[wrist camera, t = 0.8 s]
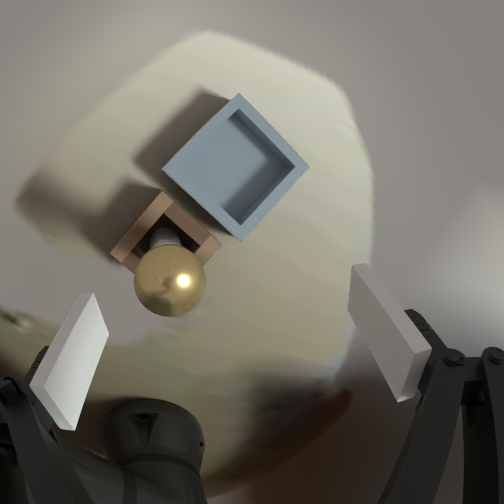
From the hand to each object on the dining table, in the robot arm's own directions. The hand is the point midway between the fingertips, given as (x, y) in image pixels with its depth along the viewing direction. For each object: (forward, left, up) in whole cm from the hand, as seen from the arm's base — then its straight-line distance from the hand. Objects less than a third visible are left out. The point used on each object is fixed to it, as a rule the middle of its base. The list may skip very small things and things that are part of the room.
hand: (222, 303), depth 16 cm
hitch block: (-2, +1, -21) cm, 21 cm away
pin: (-2, +1, -21) cm, 21 cm away
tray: (+9, +1, -21) cm, 23 cm away
